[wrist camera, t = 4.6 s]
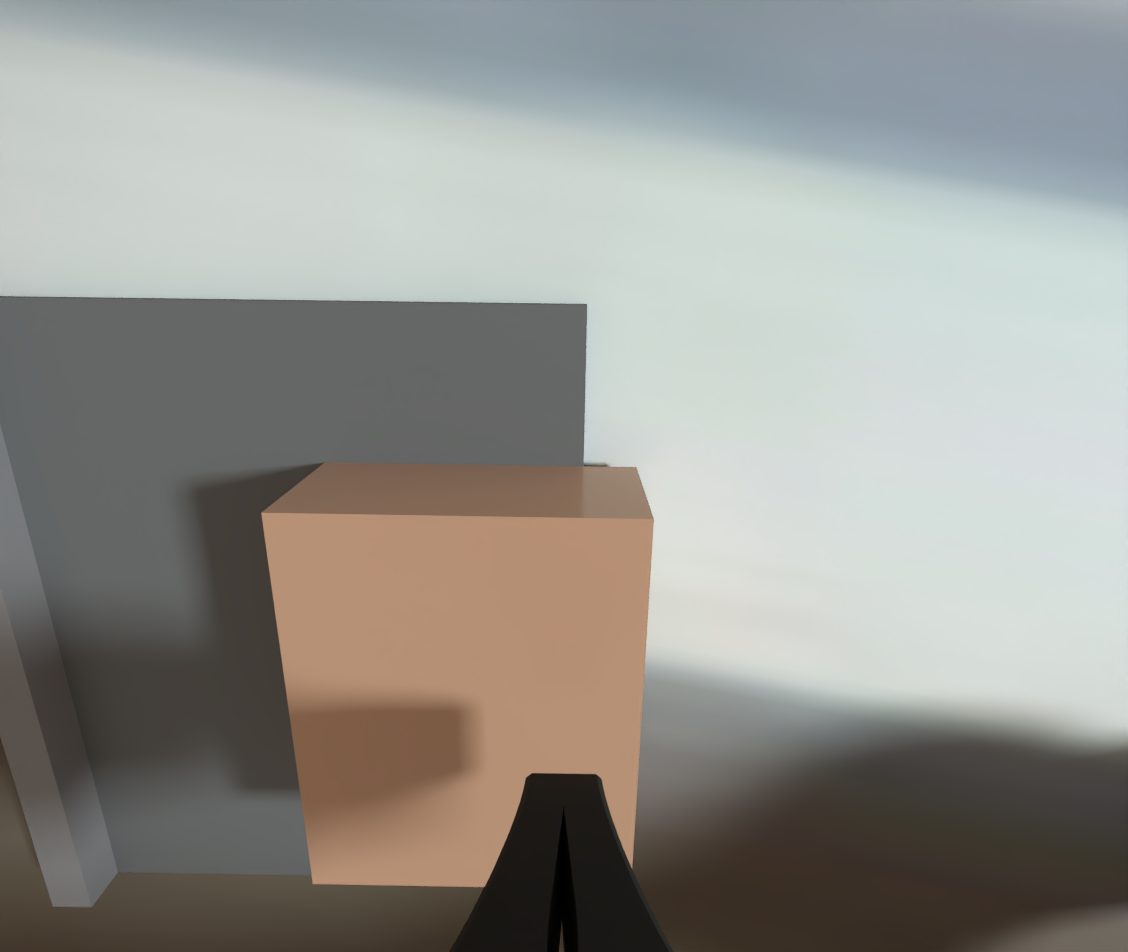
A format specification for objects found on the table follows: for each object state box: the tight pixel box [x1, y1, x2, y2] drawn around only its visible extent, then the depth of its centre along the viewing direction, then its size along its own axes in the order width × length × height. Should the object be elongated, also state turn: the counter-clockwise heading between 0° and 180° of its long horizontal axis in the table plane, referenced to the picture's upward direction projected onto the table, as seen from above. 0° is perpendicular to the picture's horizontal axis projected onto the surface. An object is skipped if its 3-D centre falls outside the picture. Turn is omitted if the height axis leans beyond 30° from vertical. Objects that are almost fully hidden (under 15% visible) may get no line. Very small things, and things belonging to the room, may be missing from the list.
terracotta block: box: [261, 462, 654, 887], centre depth 16 cm, size 4×10×8 cm
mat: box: [0, 296, 587, 907], centre depth 18 cm, size 16×18×2 cm
